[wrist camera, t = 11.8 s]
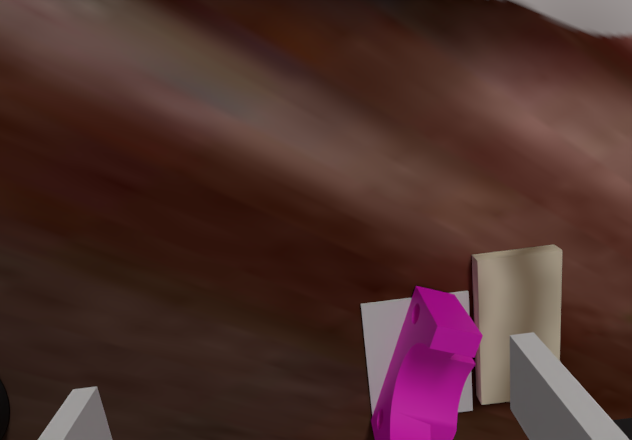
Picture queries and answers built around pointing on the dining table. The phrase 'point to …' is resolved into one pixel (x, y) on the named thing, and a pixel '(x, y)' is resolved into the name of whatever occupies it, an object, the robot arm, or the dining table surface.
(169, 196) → the dining table surface
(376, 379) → the mat
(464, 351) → the toy block
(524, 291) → the board
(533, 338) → the robot arm
